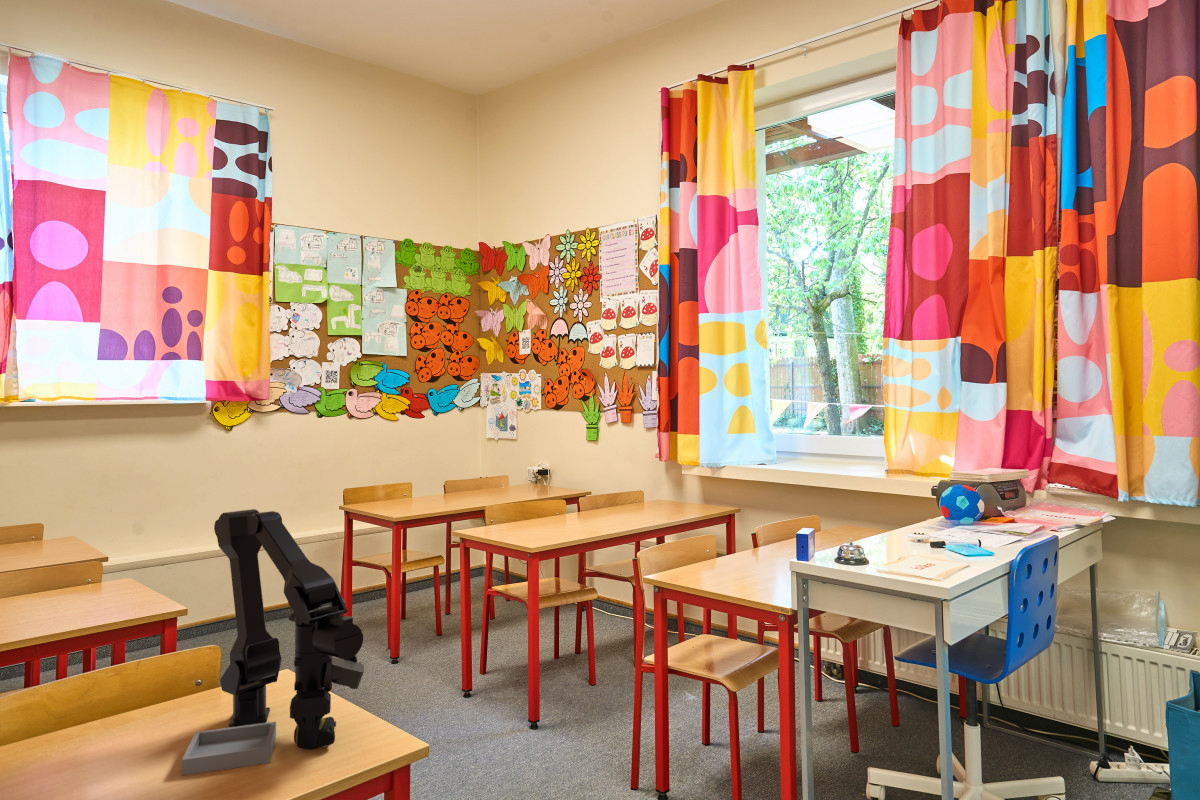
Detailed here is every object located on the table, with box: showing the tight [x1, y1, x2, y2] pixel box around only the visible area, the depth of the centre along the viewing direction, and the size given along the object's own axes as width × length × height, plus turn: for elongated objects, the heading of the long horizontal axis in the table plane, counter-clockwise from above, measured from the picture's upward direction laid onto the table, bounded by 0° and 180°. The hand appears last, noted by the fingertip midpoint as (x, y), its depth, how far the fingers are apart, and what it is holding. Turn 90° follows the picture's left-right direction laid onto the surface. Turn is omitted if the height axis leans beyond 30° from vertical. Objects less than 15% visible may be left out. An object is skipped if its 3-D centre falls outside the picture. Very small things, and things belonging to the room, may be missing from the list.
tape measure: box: [293, 716, 337, 751], centre depth 130 cm, size 7×7×4 cm
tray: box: [181, 721, 277, 776], centre depth 127 cm, size 11×13×2 cm
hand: (313, 738), depth 130 cm, fingers closed on tape measure, 7 cm apart
